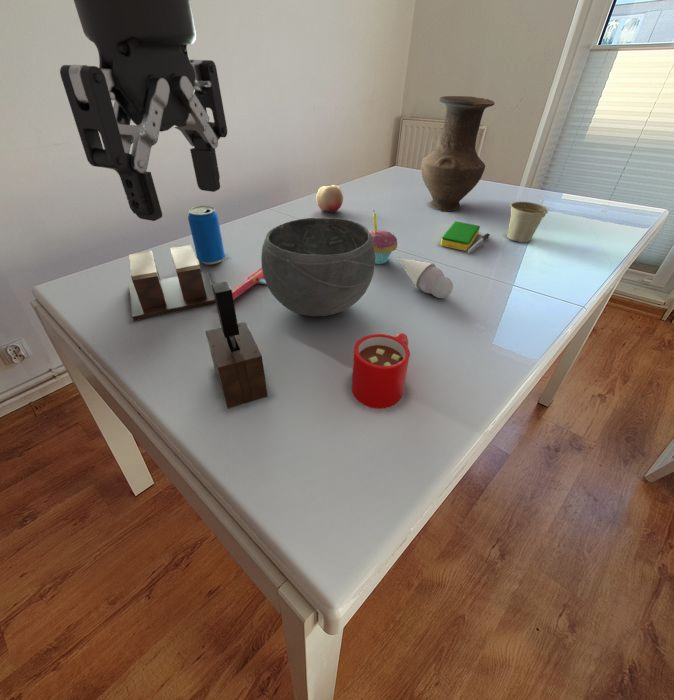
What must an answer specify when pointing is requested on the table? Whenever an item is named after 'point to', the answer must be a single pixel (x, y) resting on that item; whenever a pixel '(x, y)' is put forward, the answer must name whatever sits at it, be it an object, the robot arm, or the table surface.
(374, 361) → the mug
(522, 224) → the flower pot
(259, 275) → the pink plastic rod
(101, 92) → the robot arm
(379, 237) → the cupcake
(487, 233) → the knife
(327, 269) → the bowl
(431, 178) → the vase
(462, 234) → the dish sponge
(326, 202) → the fruit
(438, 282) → the ice cream cone
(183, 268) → the slotted block
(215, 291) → the black block with pin
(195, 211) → the beverage can
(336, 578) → the table surface
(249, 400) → the knife block
